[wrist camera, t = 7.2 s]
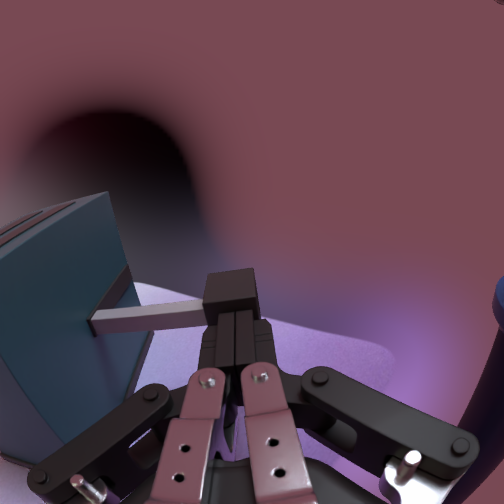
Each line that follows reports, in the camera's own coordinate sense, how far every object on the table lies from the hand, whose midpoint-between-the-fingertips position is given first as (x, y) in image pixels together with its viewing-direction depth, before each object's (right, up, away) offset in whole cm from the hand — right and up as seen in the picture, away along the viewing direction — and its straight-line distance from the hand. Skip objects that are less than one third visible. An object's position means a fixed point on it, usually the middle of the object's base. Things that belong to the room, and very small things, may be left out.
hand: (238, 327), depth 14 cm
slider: (-3, -1, +2) cm, 4 cm away
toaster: (-11, -7, +4) cm, 14 cm away
